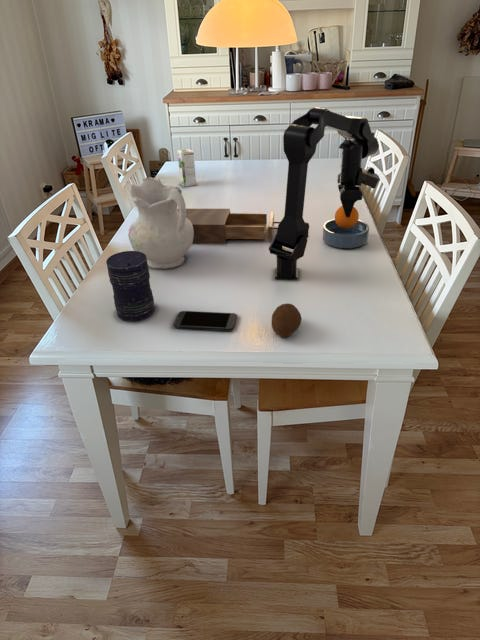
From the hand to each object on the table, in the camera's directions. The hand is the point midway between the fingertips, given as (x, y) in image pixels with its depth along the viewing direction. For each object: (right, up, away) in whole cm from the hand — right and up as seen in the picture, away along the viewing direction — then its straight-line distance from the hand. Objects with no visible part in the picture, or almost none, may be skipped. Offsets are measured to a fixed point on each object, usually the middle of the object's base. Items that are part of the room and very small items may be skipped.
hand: (347, 212), depth 151 cm
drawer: (-29, -4, +12) cm, 32 cm away
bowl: (0, -8, +5) cm, 10 cm away
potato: (-22, -36, -36) cm, 55 cm away
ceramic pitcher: (-56, -16, -2) cm, 58 cm away
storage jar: (-60, -32, -26) cm, 73 cm away
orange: (0, -4, +3) cm, 5 cm away
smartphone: (-42, -34, -32) cm, 63 cm away
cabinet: (-47, -4, +14) cm, 49 cm away
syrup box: (-56, +26, +62) cm, 88 cm away
